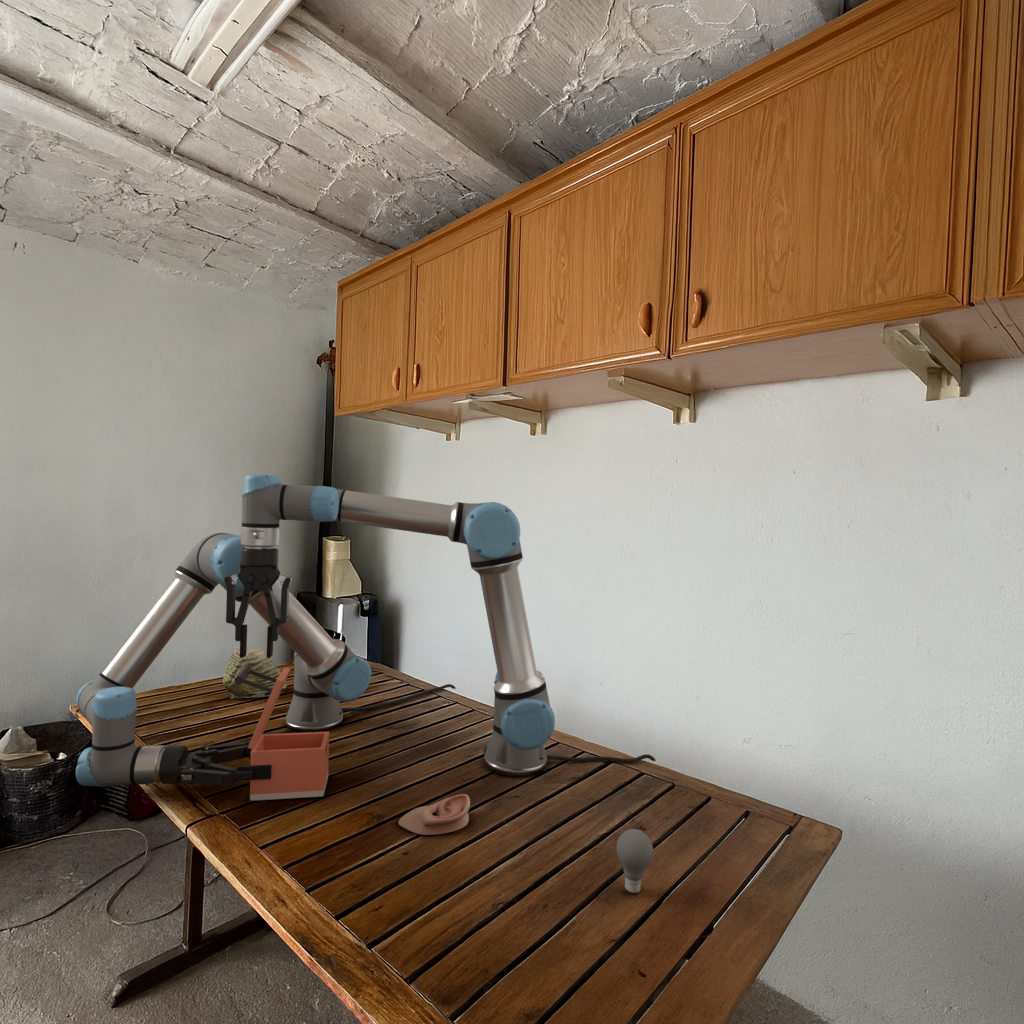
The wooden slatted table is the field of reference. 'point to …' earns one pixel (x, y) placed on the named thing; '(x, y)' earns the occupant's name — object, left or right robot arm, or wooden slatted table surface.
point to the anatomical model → (438, 816)
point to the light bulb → (634, 857)
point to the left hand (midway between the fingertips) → (275, 761)
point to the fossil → (257, 663)
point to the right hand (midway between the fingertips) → (256, 656)
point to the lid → (271, 701)
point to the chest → (291, 765)
